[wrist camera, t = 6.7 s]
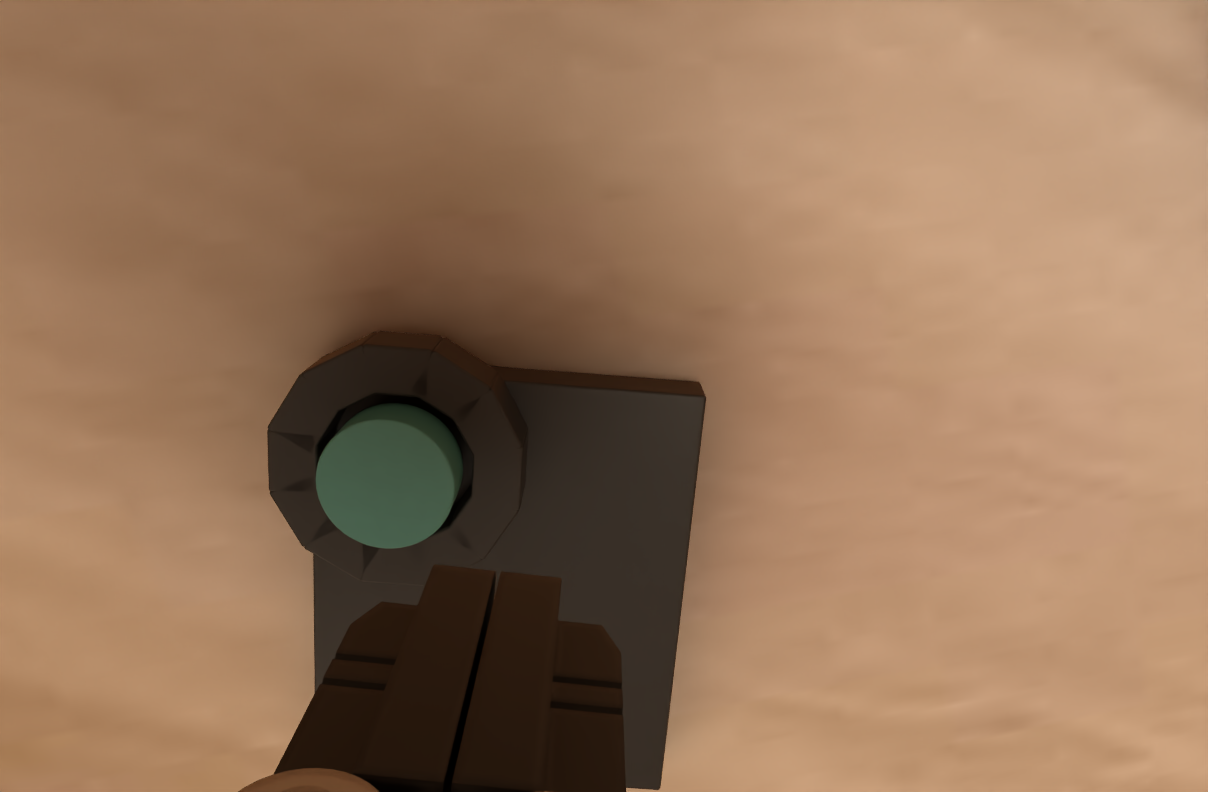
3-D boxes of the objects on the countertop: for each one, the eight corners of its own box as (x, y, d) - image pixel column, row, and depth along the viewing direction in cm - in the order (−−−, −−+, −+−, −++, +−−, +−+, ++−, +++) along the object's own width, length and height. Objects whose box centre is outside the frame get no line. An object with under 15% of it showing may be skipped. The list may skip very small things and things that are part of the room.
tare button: (331, 397, 21) (314, 414, 20) (465, 407, 21) (457, 424, 20) (332, 520, 22) (315, 544, 21) (461, 529, 22) (452, 554, 21)
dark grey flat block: (305, 312, 23) (263, 336, 20) (704, 343, 23) (719, 372, 21) (311, 735, 27) (275, 807, 24) (657, 758, 27) (663, 832, 24)
